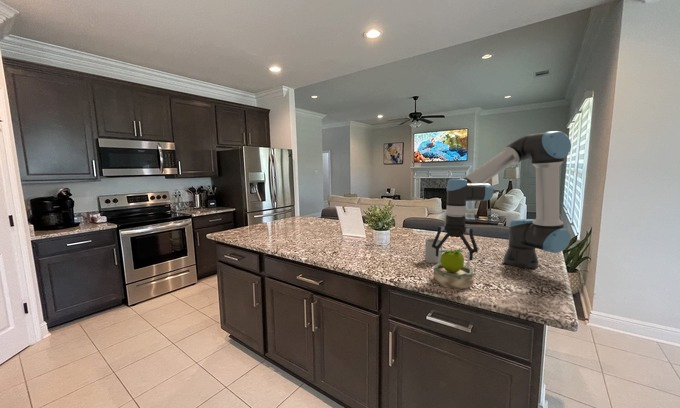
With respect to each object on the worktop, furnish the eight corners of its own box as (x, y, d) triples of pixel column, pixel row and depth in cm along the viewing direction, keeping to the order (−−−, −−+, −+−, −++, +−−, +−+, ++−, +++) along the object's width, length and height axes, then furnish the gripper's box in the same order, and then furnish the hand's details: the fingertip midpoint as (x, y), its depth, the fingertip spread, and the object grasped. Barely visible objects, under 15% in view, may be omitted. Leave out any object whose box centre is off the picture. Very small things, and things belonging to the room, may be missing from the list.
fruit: (462, 276, 117) (461, 252, 116) (439, 274, 122) (437, 251, 121) (466, 268, 125) (465, 246, 124) (444, 266, 130) (442, 245, 129)
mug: (438, 264, 146) (439, 243, 144) (422, 261, 151) (423, 241, 149) (445, 258, 155) (446, 239, 154) (430, 256, 160) (431, 237, 159)
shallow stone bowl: (473, 277, 128) (473, 265, 127) (472, 291, 113) (473, 278, 113) (435, 272, 135) (436, 261, 134) (431, 284, 120) (431, 272, 120)
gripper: (486, 215, 119) (483, 266, 122) (428, 212, 129) (426, 259, 131) (486, 218, 112) (483, 272, 115) (425, 214, 122) (424, 264, 125)
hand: (453, 265), depth 123 cm, fingers open, 11 cm apart
